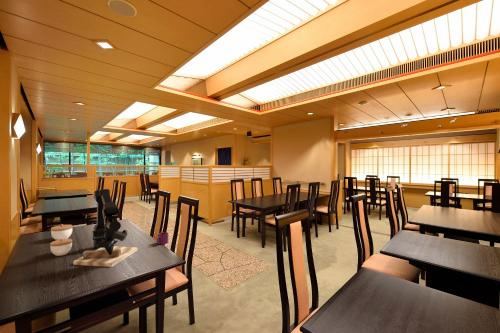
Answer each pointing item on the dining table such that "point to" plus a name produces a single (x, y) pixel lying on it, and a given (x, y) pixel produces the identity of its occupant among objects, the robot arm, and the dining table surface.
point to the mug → (162, 238)
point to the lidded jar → (61, 246)
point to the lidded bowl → (61, 231)
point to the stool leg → (101, 253)
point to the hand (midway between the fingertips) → (110, 254)
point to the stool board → (106, 258)
